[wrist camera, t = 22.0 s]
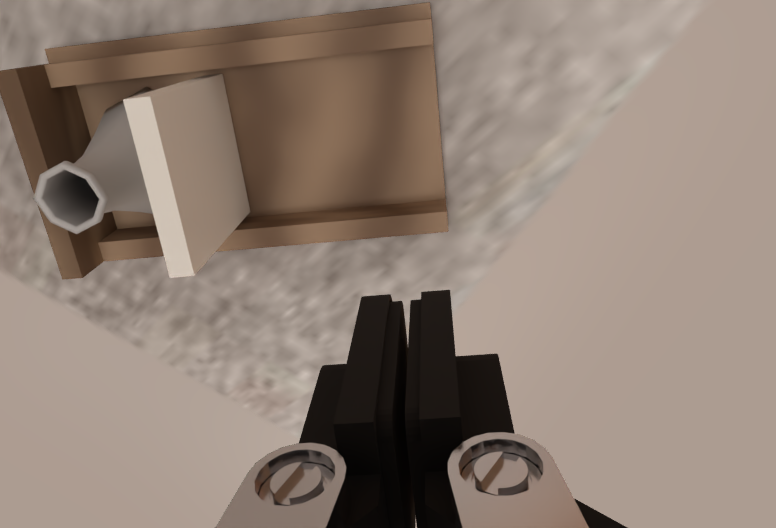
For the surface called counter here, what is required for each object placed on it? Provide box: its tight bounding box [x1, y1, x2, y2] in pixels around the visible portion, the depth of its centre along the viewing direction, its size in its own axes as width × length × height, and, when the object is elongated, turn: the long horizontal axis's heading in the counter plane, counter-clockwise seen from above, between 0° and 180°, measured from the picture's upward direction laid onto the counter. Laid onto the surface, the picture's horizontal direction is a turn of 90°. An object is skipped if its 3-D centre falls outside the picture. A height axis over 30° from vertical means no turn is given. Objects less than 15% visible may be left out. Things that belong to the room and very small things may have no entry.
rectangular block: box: [123, 74, 250, 278], centre depth 32 cm, size 1×8×10 cm, turn 6°
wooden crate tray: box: [0, 2, 448, 279], centre depth 35 cm, size 22×13×6 cm, turn 96°
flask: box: [33, 87, 153, 234], centre depth 33 cm, size 7×7×10 cm
